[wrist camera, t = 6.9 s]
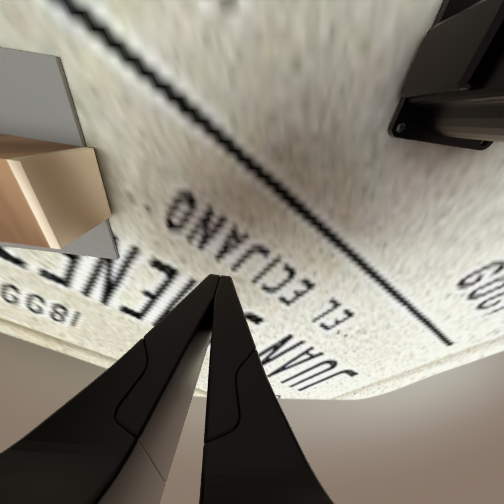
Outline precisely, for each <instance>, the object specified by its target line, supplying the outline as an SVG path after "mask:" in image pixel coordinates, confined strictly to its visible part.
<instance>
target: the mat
mask: <svg viewBox="0 0 504 504" xmlns="http://www.w3.org/2000/svg"><path fill="white" fill-rule="evenodd" d="M0 134H6V135H12V136H18V137H24V138H31V139H37V140H43V141H50V142H56V143H62V144H68V145H75V146H81V147H86V145H85V141H84V138H83V135H82V131H81V128H80V125H79V121H78V118H77V115H76V111H75V108H74V105H73V101H72V98H71V94H70V91H69V88H68V84H67V81H66V78H65V74H64V71H63V68H62V64H61V61H60V58H59V57H56V56H51V55H44V54H38V53H32V52H26V51H20V50H14V49H8V48H1V47H0ZM0 246H7V247H16V248H24V249H33V250H41V251H50V252H58V253H67V254H75V255H84V256H92V257H101V258H109V259H118V258H119V255H118V251H117V248H116V245H115V241H114V238H113V235H112V231H111V228H110V225H109V221H108V219H107V220H105V221H103V222H102V223H100V224H99V225H97V226H96V227H94V228H93V229H91V230H90V231H88V232H87V233H85V234H84V235H82V236H81V237H79V238H78V239H76V240H75V241H73V242H72V243H70V244H68V245H67V246H65V247H64V248H62V249H54V248H46V247H38V246H31V245H23V244H15V243H8V242H0Z"/></svg>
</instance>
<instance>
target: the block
mask: <svg viewBox="0 0 504 504" xmlns="http://www.w3.org/2000/svg"><path fill="white" fill-rule="evenodd" d="M110 217H111V212H110V209H109V205H108V201H107V197H106V194H105V190H104V186H103V182H102V179H101V175H100V171H99V168H98V164H97V160H96V156H95V153H94V149H93V148H87V147H81V146H75V145H68V144H62V143H56V142H50V141H43V140H37V139H31V138H24V137H18V136H12V135H6V134H0V242H8V243H15V244H23V245H31V246H38V247H46V248H54V249H62V248H64V247H65V246H67V245H68V244H70V243H72V242H73V241H75V240H76V239H78V238H79V237H81V236H82V235H84V234H85V233H87V232H88V231H90V230H91V229H93V228H94V227H96V226H97V225H99V224H100V223H102V222H103V221H105V220H107V219H108V218H110Z"/></svg>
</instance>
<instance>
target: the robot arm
mask: <svg viewBox="0 0 504 504" xmlns="http://www.w3.org/2000/svg"><path fill="white" fill-rule="evenodd" d="M402 94H403V97H402V99H401V101H400V104H399V106H398V108H397V111H396V113H395V115H394V117H393V120H392V122H391V124H390V127H389V134H390V136H392V137H398V138H404V139H410V140H417V141H423V142H430V143H436V144H442V145H449V146H455V147H462V148H468V149H475V150H484V149H486V148H488V147H489V146H490V145H491V144H492V143H493V142H494V141H496V142H504V0H444V3H443V5H442V7H441V10H440V12H439V14H438V16H437V19H436V21H435V23H434V26H433V28H431V29H430V30H429V31H428V33H427V35H426V37H425V39H424V42H423V44H422V46H421V49H420V51H419V53H418V56H417V58H416V60H415V63H414V65H413V67H412V70H411V72H410V74H409V77H408V79H407V81H406V84H405V86H404V88H403V91H402ZM399 124H401V125H402V127H401V129H400V131H398V132H397V130H396V129H397V126H398V125H399ZM482 140H484V141H483V142H482V143H481V141H482ZM480 143H481V144H480ZM210 338H211V347H210V361H209V376H208V390H207V405H206V418H205V434H204V447H203V461H202V474H201V487H200V499H199V504H335V503H334V502H333V500H332V499H331V498H330V496H329V495H328V494H327V492H326V491H325V489H324V488H323V486H322V485H321V483H320V482H319V480H318V478H317V477H316V475H315V473H314V472H313V470H312V468H311V466H310V464H309V463H308V461H307V459H306V457H305V455H304V453H303V451H302V449H301V447H300V445H299V443H298V441H297V439H296V437H295V435H294V433H293V431H292V429H291V427H290V425H289V423H288V421H287V419H286V416H285V415H284V412H283V411H282V408H281V406H280V404H279V402H278V400H277V398H276V396H275V394H274V392H273V389H272V387H271V385H270V383H269V381H268V378H267V376H266V373H265V371H264V368H263V366H262V363H261V360H260V357H259V355H258V352H257V350H256V346H255V344H254V341H253V338H252V335H251V332H250V329H249V327H248V324H247V321H246V318H245V315H244V312H243V309H242V307H241V304H240V301H239V298H238V295H237V292H236V290H235V287H234V284H233V281H232V278H231V277H230V276H223V275H222V276H220V275H215V274H210V275H208V276H207V277H206V278H205V279H204V280H203V281H202V282H201V283H200V284H199V285H198V286H197V287H196V288H195V289H194V290H192V291H191V292H190V293H189V294H188V295H187V296H186V297H185V298H184V299H183V300H182V301H181V302H180V303H179V304H178V305H177V306H176V307H175V308H173V309H172V310H171V311H170V312H169V313H168V314H167V315H166V316H165V317H164V318H163V319H162V320H161V321H160V322H159V323H158V324H157V325H156V326H154V327H153V328H152V329H151V330H150V331H149V332H148V333H147V334H146V335H145V336H144V339H141V340H139V341H138V342H137V343H136V344H135V345H134V346H133V347H132V348H131V349H130V350H129V351H128V352H127V353H126V354H124V355H123V356H122V357H121V358H120V359H119V360H118V361H117V362H116V363H114V364H113V365H112V366H111V367H110V368H108V369H107V370H106V371H105V372H104V373H102V374H101V375H100V376H99V377H98V378H96V379H95V380H94V381H93V382H92V383H90V384H89V385H88V386H87V387H85V388H84V389H83V390H82V391H80V392H79V393H78V394H77V395H75V396H74V397H73V398H72V399H70V400H69V401H68V402H67V403H65V405H63V406H62V407H60V408H59V409H58V410H57V411H56V412H54V413H53V414H52V415H50V416H49V417H48V418H47V419H45V420H44V421H43V422H42V423H41V424H39V425H38V426H37V427H36V428H34V429H33V430H32V431H30V432H29V433H28V434H27V435H25V436H24V437H23V438H22V439H20V440H19V441H17V442H16V443H14V444H13V445H12V446H10V447H9V448H7V449H6V450H4V451H3V452H1V453H0V504H160V500H161V497H162V494H163V491H164V487H165V482H166V481H167V477H168V474H169V471H170V468H171V465H172V461H173V458H174V455H175V452H176V448H177V445H178V442H179V439H180V435H181V432H182V429H183V425H184V422H185V418H186V416H187V412H188V409H189V406H190V403H191V399H192V396H193V393H194V390H195V386H196V383H197V380H198V377H199V373H200V370H201V367H202V364H203V360H204V357H205V354H206V351H207V347H208V344H209V341H210Z"/></svg>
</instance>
